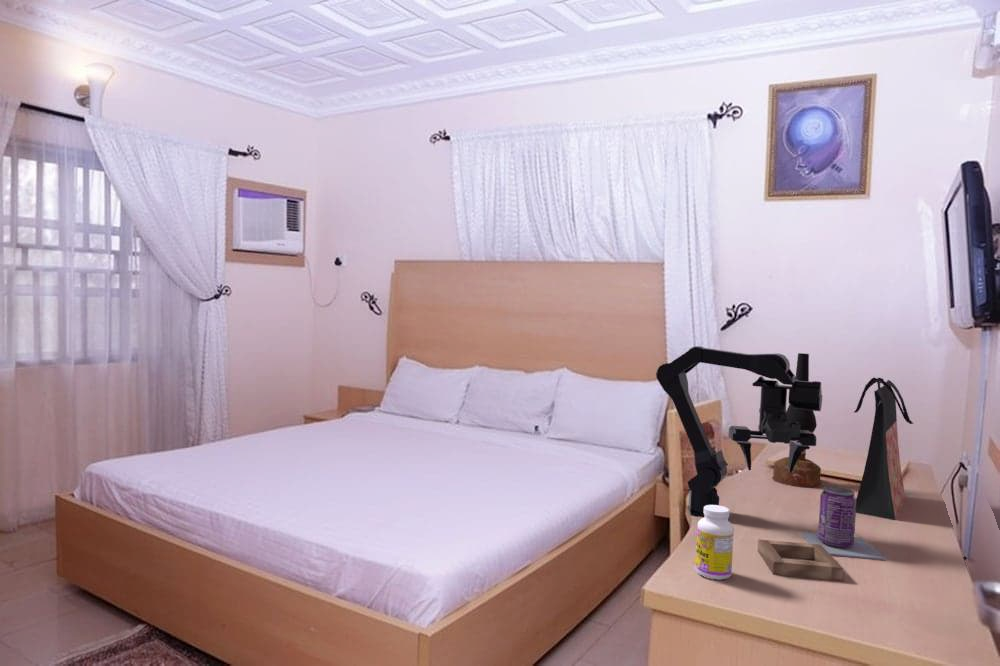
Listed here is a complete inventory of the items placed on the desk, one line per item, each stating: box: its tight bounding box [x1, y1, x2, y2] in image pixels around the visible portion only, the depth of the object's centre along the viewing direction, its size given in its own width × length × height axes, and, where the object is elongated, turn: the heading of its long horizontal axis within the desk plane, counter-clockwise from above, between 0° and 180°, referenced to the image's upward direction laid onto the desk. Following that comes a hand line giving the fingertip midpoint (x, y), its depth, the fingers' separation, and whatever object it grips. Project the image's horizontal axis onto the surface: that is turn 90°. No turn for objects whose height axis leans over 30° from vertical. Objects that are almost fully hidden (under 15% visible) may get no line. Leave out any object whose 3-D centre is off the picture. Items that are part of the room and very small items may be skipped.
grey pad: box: [800, 531, 886, 561], centre depth 145 cm, size 13×13×1 cm
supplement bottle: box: [694, 504, 735, 581], centre depth 126 cm, size 7×7×13 cm
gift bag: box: [853, 377, 914, 521], centre depth 177 cm, size 29×14×35 cm, turn 144°
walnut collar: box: [757, 538, 844, 582], centre depth 133 cm, size 13×13×2 cm
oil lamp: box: [771, 352, 822, 489], centre depth 204 cm, size 14×15×40 cm
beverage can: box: [817, 485, 857, 548], centre depth 145 cm, size 7×7×12 cm
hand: (769, 471), depth 157 cm, fingers open, 9 cm apart
